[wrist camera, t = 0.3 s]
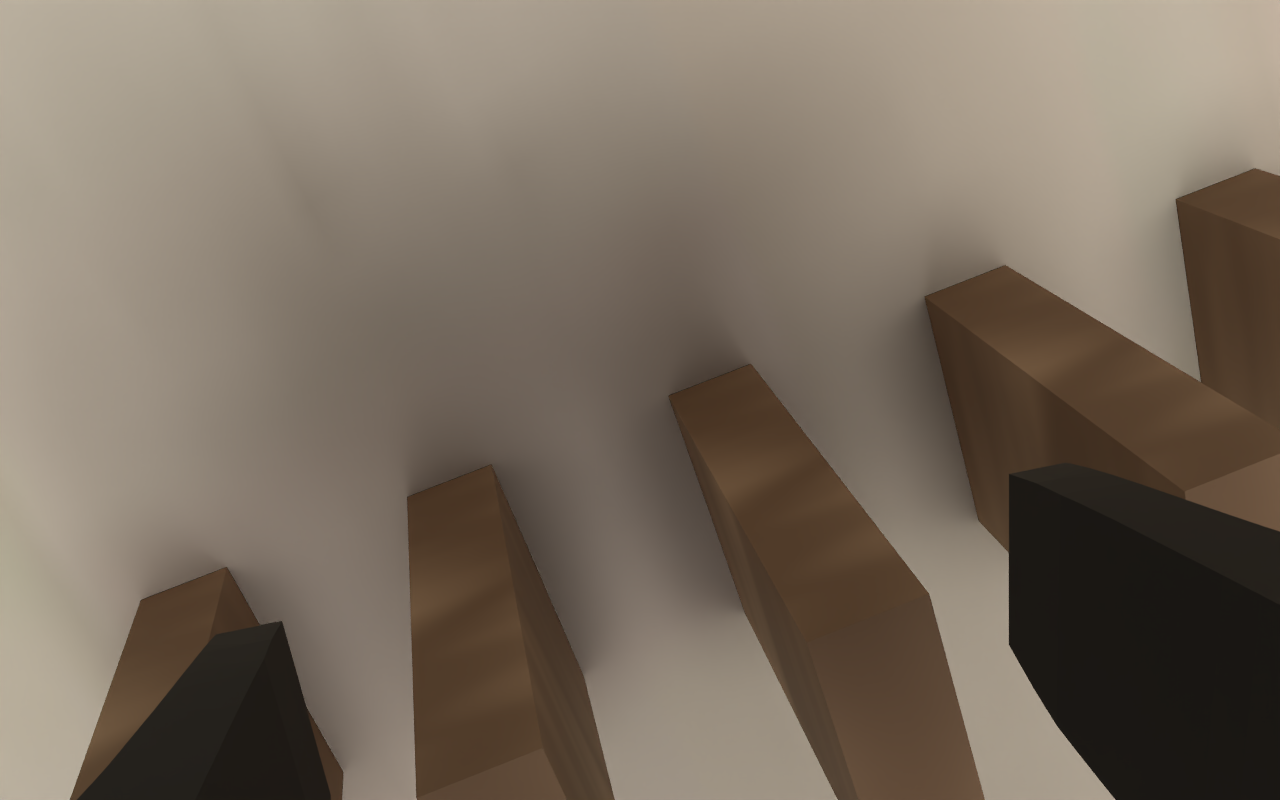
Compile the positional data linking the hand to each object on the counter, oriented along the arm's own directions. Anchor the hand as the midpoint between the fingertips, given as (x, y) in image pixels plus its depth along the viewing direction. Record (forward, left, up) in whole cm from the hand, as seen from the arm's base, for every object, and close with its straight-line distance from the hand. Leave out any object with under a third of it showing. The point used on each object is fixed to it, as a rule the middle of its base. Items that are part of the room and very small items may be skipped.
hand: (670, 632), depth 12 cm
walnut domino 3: (-5, -2, -10) cm, 11 cm away
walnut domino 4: (-5, +3, -10) cm, 11 cm away
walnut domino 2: (-5, -7, -10) cm, 13 cm away
